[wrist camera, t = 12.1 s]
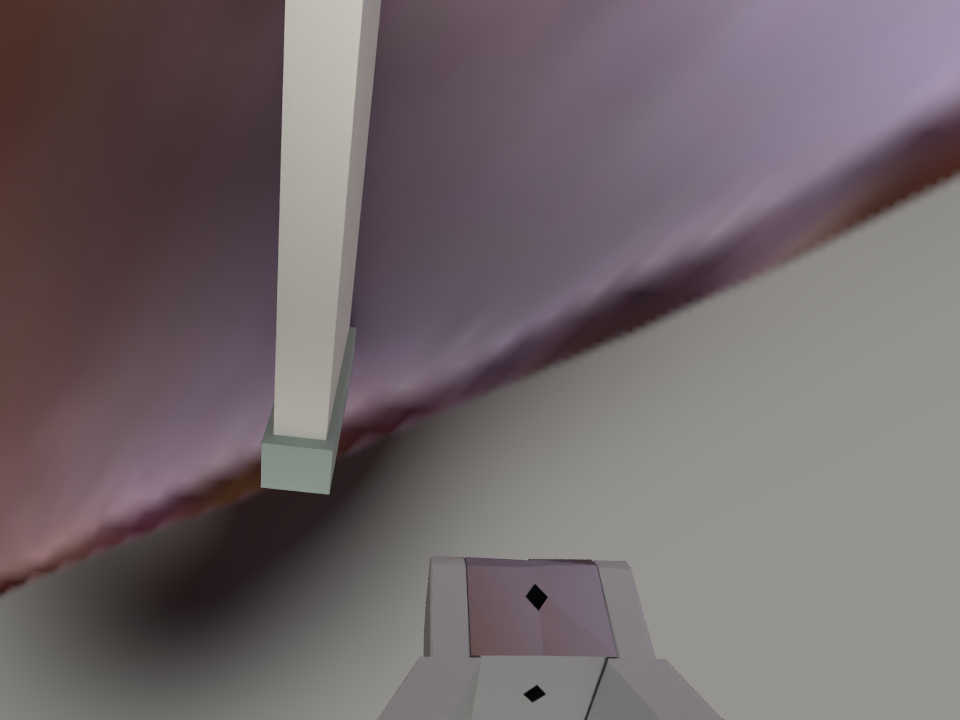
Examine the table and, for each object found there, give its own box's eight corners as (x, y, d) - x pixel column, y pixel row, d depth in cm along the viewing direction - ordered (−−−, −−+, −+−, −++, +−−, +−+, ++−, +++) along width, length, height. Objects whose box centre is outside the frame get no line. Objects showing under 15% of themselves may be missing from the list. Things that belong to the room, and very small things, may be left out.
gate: (336, -426, 15) (276, -560, 10) (432, -400, 15) (421, -518, 10) (297, 360, 27) (260, 487, 22) (352, 367, 27) (329, 494, 22)
